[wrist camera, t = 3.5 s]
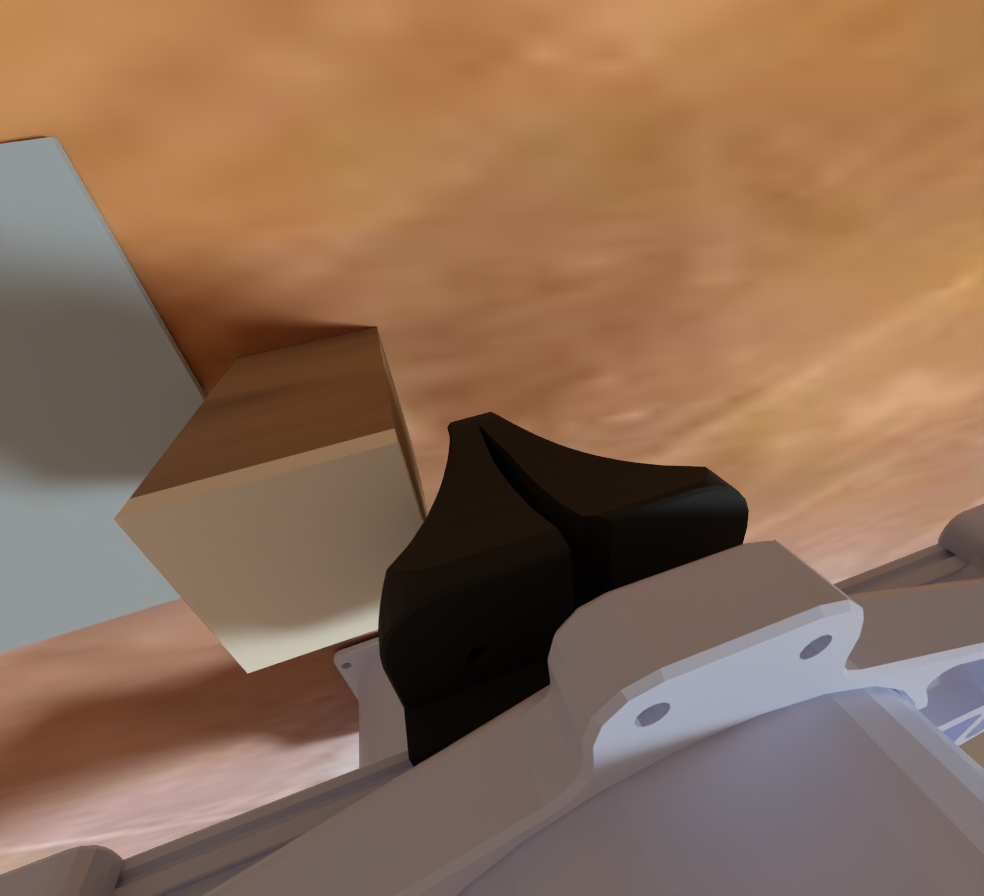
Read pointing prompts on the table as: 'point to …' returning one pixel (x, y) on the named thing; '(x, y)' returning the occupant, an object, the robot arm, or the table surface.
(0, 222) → the rubber mat
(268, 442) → the walnut block
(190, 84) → the table surface
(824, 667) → the robot arm
